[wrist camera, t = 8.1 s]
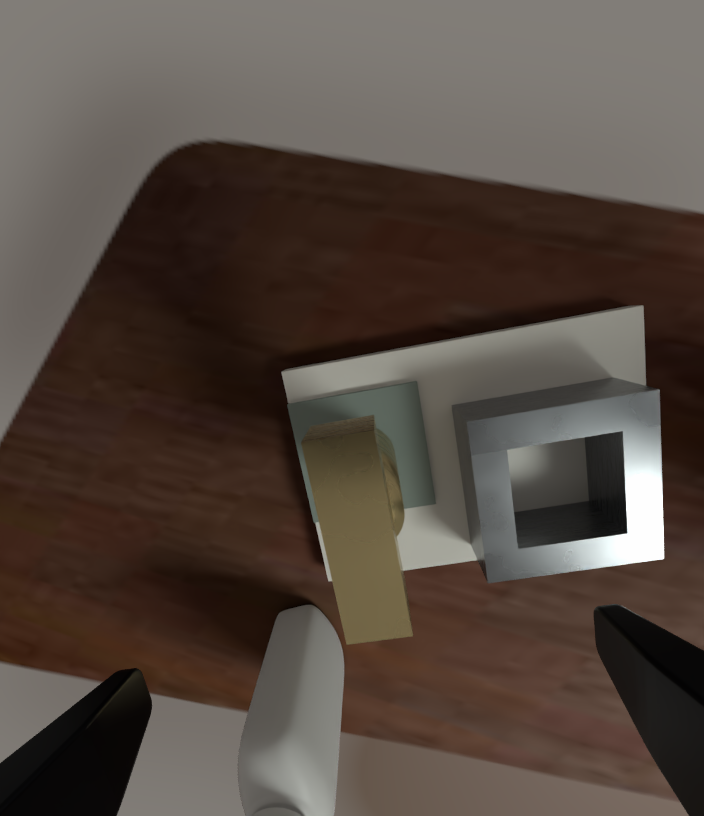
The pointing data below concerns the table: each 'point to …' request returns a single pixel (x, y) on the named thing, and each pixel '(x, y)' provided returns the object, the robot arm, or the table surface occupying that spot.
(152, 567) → the table surface
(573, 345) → the board
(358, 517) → the tan flat lever
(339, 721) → the eye dropper bottle
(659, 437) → the grey square frame
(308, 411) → the mat
